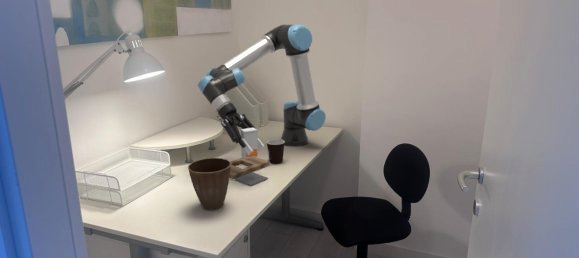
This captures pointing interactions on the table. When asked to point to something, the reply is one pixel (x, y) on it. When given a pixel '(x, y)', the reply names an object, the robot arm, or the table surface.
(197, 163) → the plant pot
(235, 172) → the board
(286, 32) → the robot arm
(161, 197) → the table surface
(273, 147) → the coffee mug
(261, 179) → the coaster
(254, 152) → the skincare box
